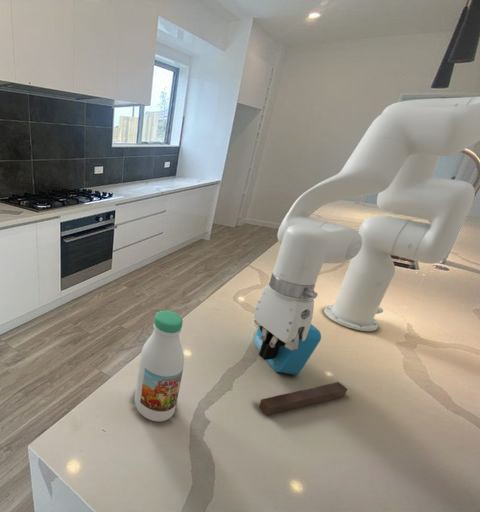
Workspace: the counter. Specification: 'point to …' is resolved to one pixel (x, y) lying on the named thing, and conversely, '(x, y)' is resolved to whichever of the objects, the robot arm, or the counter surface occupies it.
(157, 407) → the milk bottle
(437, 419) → the counter surface
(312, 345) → the data package
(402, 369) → the counter surface
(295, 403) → the strip
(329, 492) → the counter surface
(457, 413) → the counter surface
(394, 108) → the robot arm
